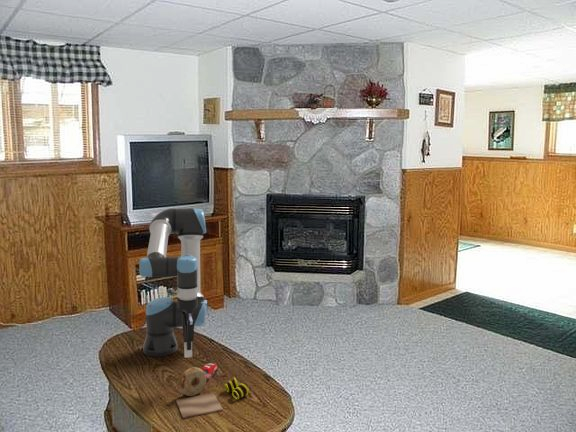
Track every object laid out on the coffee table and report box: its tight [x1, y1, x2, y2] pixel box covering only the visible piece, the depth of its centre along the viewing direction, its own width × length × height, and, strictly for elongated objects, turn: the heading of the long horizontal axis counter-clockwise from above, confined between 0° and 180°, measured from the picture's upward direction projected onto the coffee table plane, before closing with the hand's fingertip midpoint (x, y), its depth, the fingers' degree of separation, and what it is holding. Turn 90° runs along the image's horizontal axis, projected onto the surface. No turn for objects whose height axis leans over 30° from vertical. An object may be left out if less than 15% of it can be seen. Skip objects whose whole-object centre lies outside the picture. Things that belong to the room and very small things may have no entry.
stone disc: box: [178, 366, 207, 397], centre depth 183 cm, size 10×4×10 cm, turn 128°
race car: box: [201, 363, 218, 384], centre depth 197 cm, size 13×5×4 cm, turn 162°
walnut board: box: [175, 392, 224, 419], centre depth 175 cm, size 12×14×1 cm
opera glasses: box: [224, 377, 249, 400], centre depth 184 cm, size 10×5×5 cm, turn 38°
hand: (188, 356), depth 189 cm, fingers closed
